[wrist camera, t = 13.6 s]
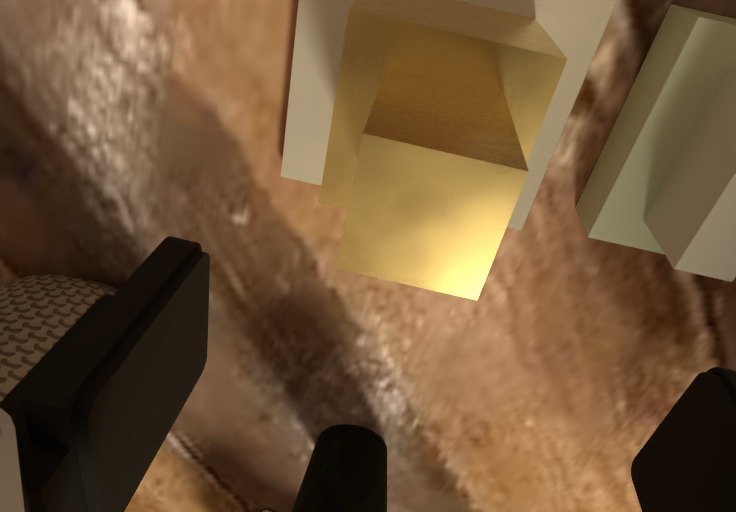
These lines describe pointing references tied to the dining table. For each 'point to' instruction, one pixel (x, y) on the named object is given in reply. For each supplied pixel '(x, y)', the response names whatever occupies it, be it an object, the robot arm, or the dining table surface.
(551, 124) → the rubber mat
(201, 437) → the dining table surface
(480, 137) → the stepped wooden tower
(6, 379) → the planter
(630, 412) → the dining table surface
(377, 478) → the cup
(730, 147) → the vise
